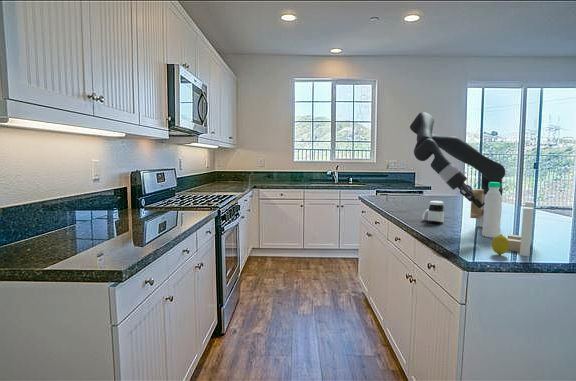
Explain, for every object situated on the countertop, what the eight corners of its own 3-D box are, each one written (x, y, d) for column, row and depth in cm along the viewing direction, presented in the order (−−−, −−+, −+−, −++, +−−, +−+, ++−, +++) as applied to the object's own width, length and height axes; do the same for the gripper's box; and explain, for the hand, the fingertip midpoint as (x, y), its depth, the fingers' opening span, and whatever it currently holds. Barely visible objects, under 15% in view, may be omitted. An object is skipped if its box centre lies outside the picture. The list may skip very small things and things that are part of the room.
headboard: (504, 252, 137) (507, 206, 135) (508, 241, 154) (511, 200, 152) (529, 256, 132) (533, 208, 130) (530, 243, 150) (534, 201, 148)
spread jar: (441, 225, 187) (442, 203, 185) (419, 222, 193) (420, 201, 191) (445, 221, 197) (446, 200, 195) (424, 219, 203) (425, 199, 201)
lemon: (487, 253, 136) (489, 232, 135) (501, 252, 137) (502, 232, 136) (497, 257, 131) (498, 236, 130) (511, 257, 131) (513, 236, 130)
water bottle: (497, 235, 165) (501, 181, 162) (501, 238, 158) (505, 183, 155) (480, 234, 167) (484, 181, 164) (483, 237, 160) (487, 182, 157)
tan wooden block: (470, 217, 151) (471, 189, 149) (471, 216, 154) (473, 188, 152) (482, 219, 148) (484, 190, 147) (483, 217, 151) (485, 189, 150)
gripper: (456, 171, 147) (487, 202, 142) (462, 169, 159) (491, 198, 153) (442, 183, 151) (472, 214, 145) (449, 181, 163) (477, 209, 157)
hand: (482, 206), depth 149 cm, fingers closed on tan wooden block, 4 cm apart
